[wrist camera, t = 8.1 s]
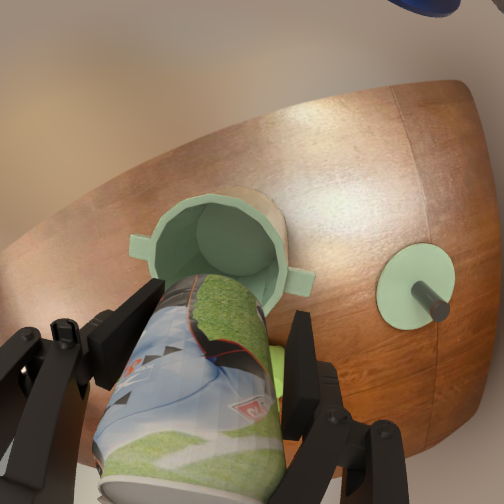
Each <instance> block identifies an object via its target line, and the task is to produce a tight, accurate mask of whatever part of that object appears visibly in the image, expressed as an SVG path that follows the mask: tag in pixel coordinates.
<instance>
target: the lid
mask: <svg viewBox="0 0 504 504" xmlns="http://www.w3.org/2000/svg"><path fill="white" fill-rule="evenodd" d="M454 283H455V272H454V267H453V264H452V261H451V259H450V257H449V256H448V255H447V253H446V252H445V251H444V250H442V249H441V248H439V247H438V246H436V245H433V244H429V243H418V244H414V245H411V246H408V247H406V248H404V249H403V250H401V251H400V252H398V253H397V254H396V255H395V256H394V257H393V258H392V259H391V260H390V261H389V262H388V264H387V265H386V267H385V268H384V270H383V272H382V274H381V276H380V278H379V281H378V285H377V291H376V300H377V306H378V309H379V312H380V314H381V315H382V317H383V318H384V320H385V321H386V322H387V323H389V324H390V325H391V326H393V327H395V328H398V329H403V330H411V329H416V328H420V327H422V326H424V325H426V324H428V323H430V322H431V321H433V320H434V321H435V322H442V321H443V320H445V319H446V318H447V316H448V315H449V312H450V306H449V304H448V302H449V300H450V298H451V295H452V292H453V289H454Z"/></svg>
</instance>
